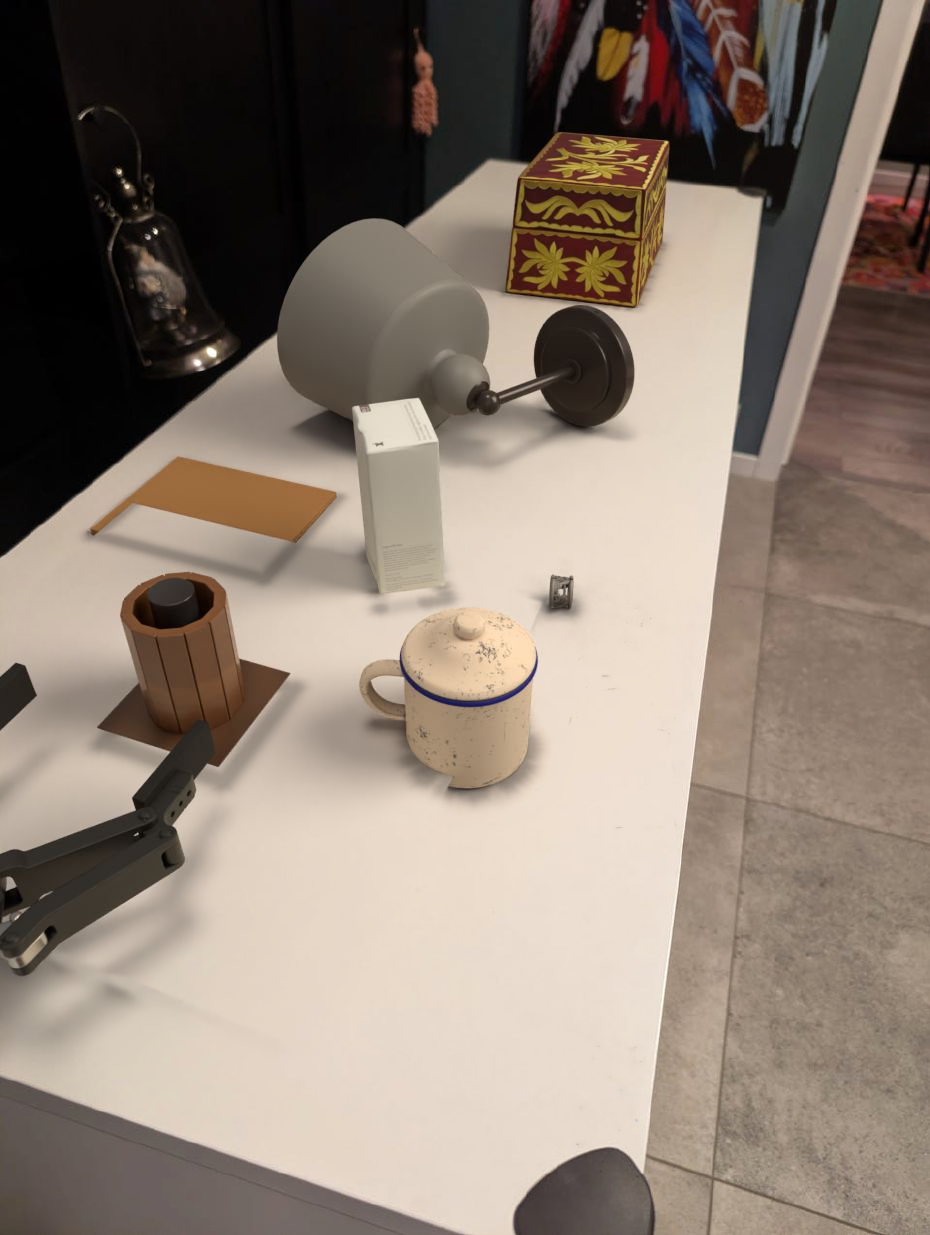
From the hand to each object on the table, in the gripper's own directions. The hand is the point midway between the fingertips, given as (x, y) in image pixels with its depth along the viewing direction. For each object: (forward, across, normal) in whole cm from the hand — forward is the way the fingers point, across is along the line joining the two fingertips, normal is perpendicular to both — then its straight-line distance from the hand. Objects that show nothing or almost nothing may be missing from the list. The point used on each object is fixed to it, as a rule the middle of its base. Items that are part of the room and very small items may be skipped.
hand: (114, 706), depth 60 cm
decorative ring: (+29, +21, -8) cm, 37 cm away
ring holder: (+7, 0, -8) cm, 11 cm away
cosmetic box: (+28, +7, -8) cm, 30 cm away
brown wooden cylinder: (+7, 0, -6) cm, 10 cm away
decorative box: (+107, +2, -8) cm, 108 cm away
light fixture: (+54, +2, -8) cm, 54 cm away
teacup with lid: (+12, +18, -8) cm, 23 cm away
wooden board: (+30, -13, -8) cm, 34 cm away
